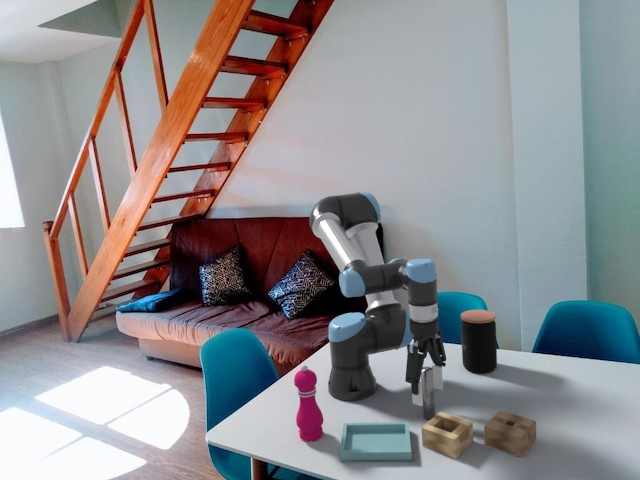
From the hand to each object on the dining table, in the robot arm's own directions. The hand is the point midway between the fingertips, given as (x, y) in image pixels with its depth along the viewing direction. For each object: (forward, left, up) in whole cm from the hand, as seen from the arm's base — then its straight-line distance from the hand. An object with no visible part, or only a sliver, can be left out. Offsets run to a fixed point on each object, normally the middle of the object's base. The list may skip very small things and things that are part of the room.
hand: (428, 396), depth 134 cm
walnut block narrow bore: (+22, +1, -6) cm, 23 cm away
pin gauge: (0, 0, -6) cm, 6 cm away
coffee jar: (-2, +35, -6) cm, 36 cm away
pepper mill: (-21, -25, -6) cm, 33 cm away
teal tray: (-4, -19, -6) cm, 20 cm away
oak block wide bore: (+10, -8, -6) cm, 14 cm away
